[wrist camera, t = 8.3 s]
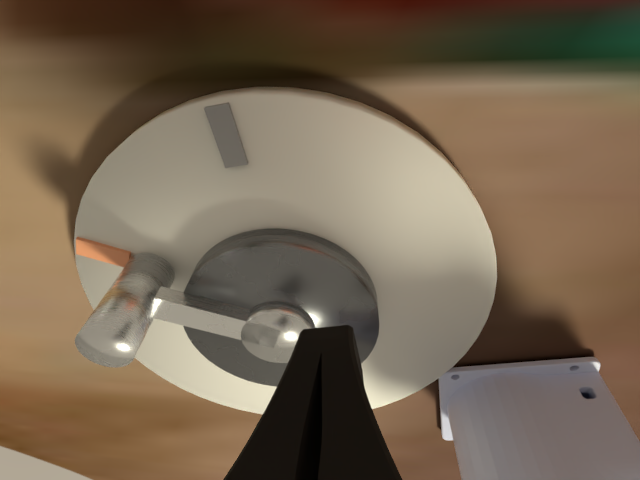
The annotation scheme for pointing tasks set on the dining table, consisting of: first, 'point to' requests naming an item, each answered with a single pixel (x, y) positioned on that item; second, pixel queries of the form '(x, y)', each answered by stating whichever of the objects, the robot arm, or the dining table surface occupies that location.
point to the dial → (238, 303)
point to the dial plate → (296, 224)
